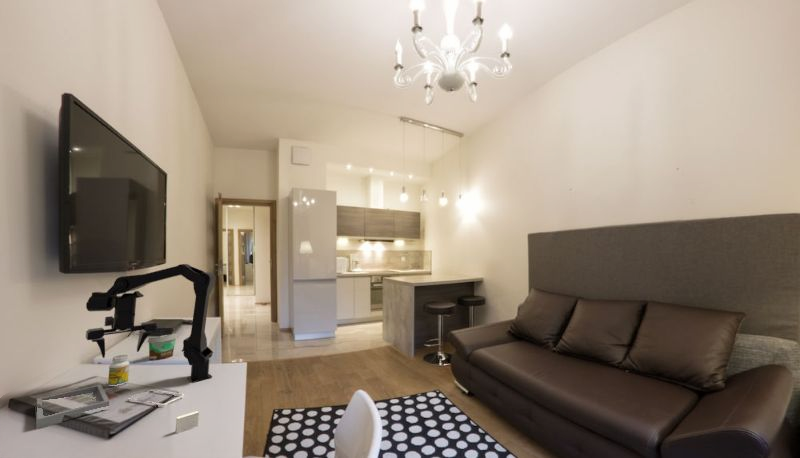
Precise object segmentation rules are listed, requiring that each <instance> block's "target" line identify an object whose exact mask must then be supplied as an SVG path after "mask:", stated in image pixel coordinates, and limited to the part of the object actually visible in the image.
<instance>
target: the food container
mask: <svg viewBox="0 0 800 458" xmlns="http://www.w3.org/2000/svg"><path fill="white" fill-rule="evenodd" d="M177 339H178V333H177V332H176V331H172V333H169V334H162V335H159V336H156V337H148V340H147V343H148V353H149V354H148V359H149V361H160V360H166V359H168V358H169V359H170V358H171V357H173V356H174V350H175V344H176V340H177Z"/></svg>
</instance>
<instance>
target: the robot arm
mask: <svg viewBox="0 0 800 458" xmlns="http://www.w3.org/2000/svg"><path fill="white" fill-rule="evenodd" d="M178 276H182V277H183V278H185V279H186V280H188V281H190V282H192V283H193V284H192V285H193V291H194V295H195V300H194V307H193V315H192V324H191V330H190V335H189V336H188V337H185V339H183V342H182V344H183V347H182V350H181V352H183V357H184V358H185V359H186V360H187V361H188V365H189V366H190V375H189V376H187V377H186V378H187V380H189V381H190V382H192V383H196V382H199V381H203V380H204V381H205V380H207V379H211V378H212V377H213V375H212V374H210V373H209V371H210V359H211V358H212V356H213V354H214V351H213V350H212V349H211V348H210V347H208V342H207V341H208V340H207V339H208V338H207V336H206V331H205V330H206V324H207V317H208V308H209V301H210V295H211V293H212V291H213V289H214V286H215V283H216V280H217V279H216V278H217V277H216V275H215V274H214V273H213V272H211V271H207V272H206V271H204V270H202V269H199V268H196V267H194V266H192V265H190V264H189V263H182V264H181V263H180V264H178V265H176V266H175V265H174V266H171V267H167V268H164V269H163V268H162V269H160V270H156V271H152V272H148V273H144V274H134V275H124V276H123V275H122V276H119V277H117V278H116V279H115V281H114V282H113V285H112V286H111V287H110V288H109V289H108V290H107V291H106V292H105V291H104V292H103V291H94V292H92V293H91V296H89V298H88V300H87V302H86V304H85V308H86V310H87V311H88V312H110V311H112V310H113V309H114V315H113V316H112V315H111V316H105V317H104V327H111V328H109V329H108V328H107V329H104V327H96V328H89V329H87V330H86V331H85V339H86V340H87V341H91V342H92V343H96V345H98V348H99V351H100V353H101V358H103V359H105V357H106V345H105V344H106V343H105V342H106V341H105V340H106V338H104V336H108V335H116V334H122V333H124V334H125V333H129V332H137V331H138V332H139V334H138V338H137V339H138V340H137V345H136V352H137V353H138V352H139V351H140V350H141V348H142V346H143V344H144V343H145V341H146V339H147V338H148V336H149V335H150V334H153V332H156V331H157V330H158V323H156V322H154V321H144V322H141V323H140V325H135V318H136V307H137V299H140V298H143V297H144V296H145V295H144V294H143V293H141V292H140V291H139V290H138V289H141V288H143V287H145V286H147V285H149V284H152V283H155V282H159V281H163V280H167V279H171V278H174V277H178ZM133 291H134V292H133ZM127 292H128V293H127ZM129 292H130V293H129Z"/></svg>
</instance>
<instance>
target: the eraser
mask: <svg viewBox="0 0 800 458" xmlns="http://www.w3.org/2000/svg"><path fill="white" fill-rule="evenodd" d="M199 416H200V412H199V411H198V410H196V411H192V412H189V413H185V414H183V415H179V416H177V417H176V420H175V421H176V423H175V433H176V434H179V433H181V432H185V431H187V430H190V429H193V428H196V427H199V418H200V417H199Z"/></svg>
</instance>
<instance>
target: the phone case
mask: <svg viewBox="0 0 800 458" xmlns="http://www.w3.org/2000/svg"><path fill="white" fill-rule="evenodd" d="M157 390H158V391H161V392H160V393H162V392H167V393H170V394H173V395H174V396H173V397H176V398H174V399H171V400H169V401H167V402H165V403H158V402H153V401H151V402H152V403H156V404H157V405H158V408H165V407H168V404H169V403H172V402H174V401H176V400H179V399H181V400H182V399H184V398H185V394H184V393H178V392H170V391H164V390H160V389H157ZM138 394H139V393H137V394H135V395H138ZM135 395H133V396H135ZM133 396H131V397H133ZM128 399H130V398H129V397H127V400H128ZM134 399H135V400H137V398H134ZM146 401H147V400H146ZM147 402H149V400H148V401H147Z"/></svg>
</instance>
